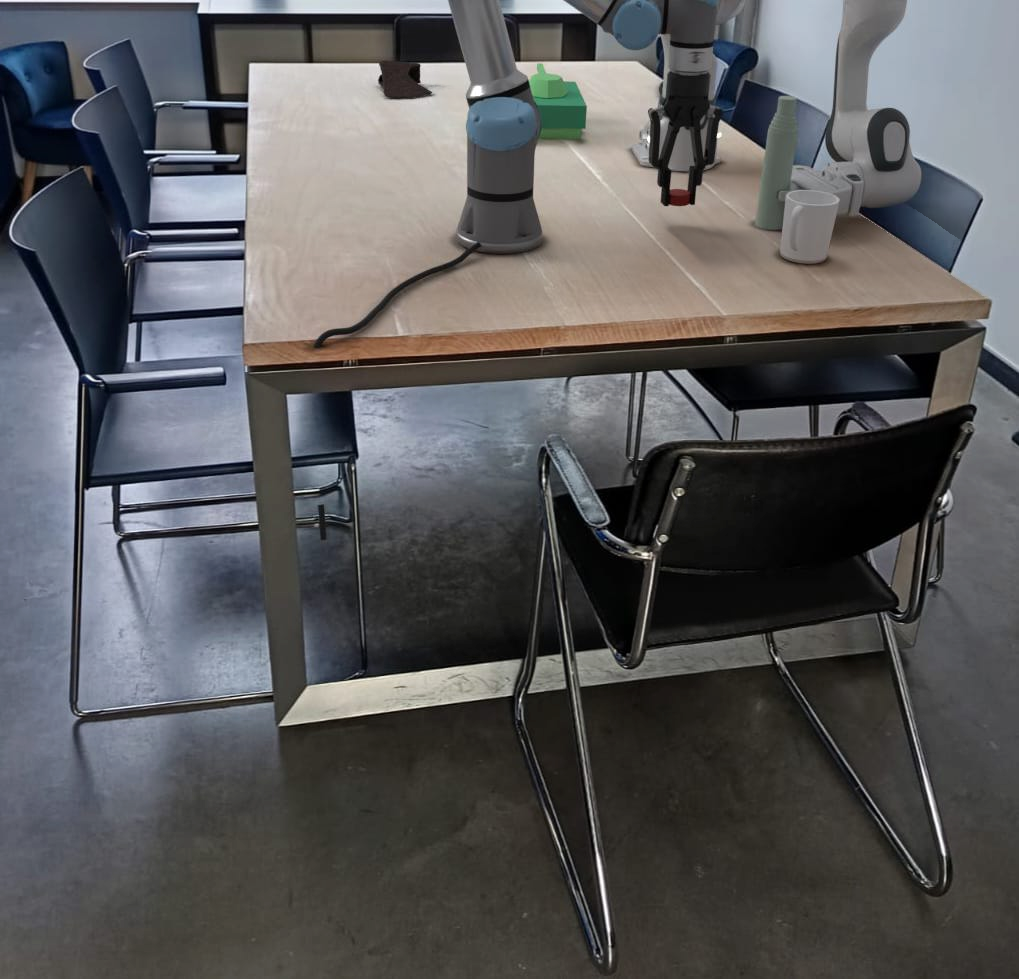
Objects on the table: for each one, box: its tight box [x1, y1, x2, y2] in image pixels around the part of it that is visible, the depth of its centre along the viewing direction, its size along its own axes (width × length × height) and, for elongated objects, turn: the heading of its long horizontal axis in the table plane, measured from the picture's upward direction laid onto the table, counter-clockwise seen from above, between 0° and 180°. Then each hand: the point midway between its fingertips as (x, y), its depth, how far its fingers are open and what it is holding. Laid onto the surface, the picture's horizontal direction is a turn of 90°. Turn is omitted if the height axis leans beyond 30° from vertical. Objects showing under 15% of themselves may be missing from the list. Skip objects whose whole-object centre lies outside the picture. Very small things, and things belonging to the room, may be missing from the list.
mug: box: [779, 190, 840, 265], centre depth 188 cm, size 11×9×10 cm
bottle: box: [754, 95, 799, 231], centre depth 200 cm, size 5×5×23 cm
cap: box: [669, 188, 691, 207], centre depth 203 cm, size 4×4×2 cm
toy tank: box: [528, 63, 588, 141], centre depth 266 cm, size 18×12×35 cm
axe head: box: [377, 59, 433, 99], centre depth 299 cm, size 18×8×15 cm
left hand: (677, 203), depth 203 cm, fingers closed on cap, 4 cm apart
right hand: (770, 190), depth 203 cm, fingers closed on bottle, 5 cm apart
